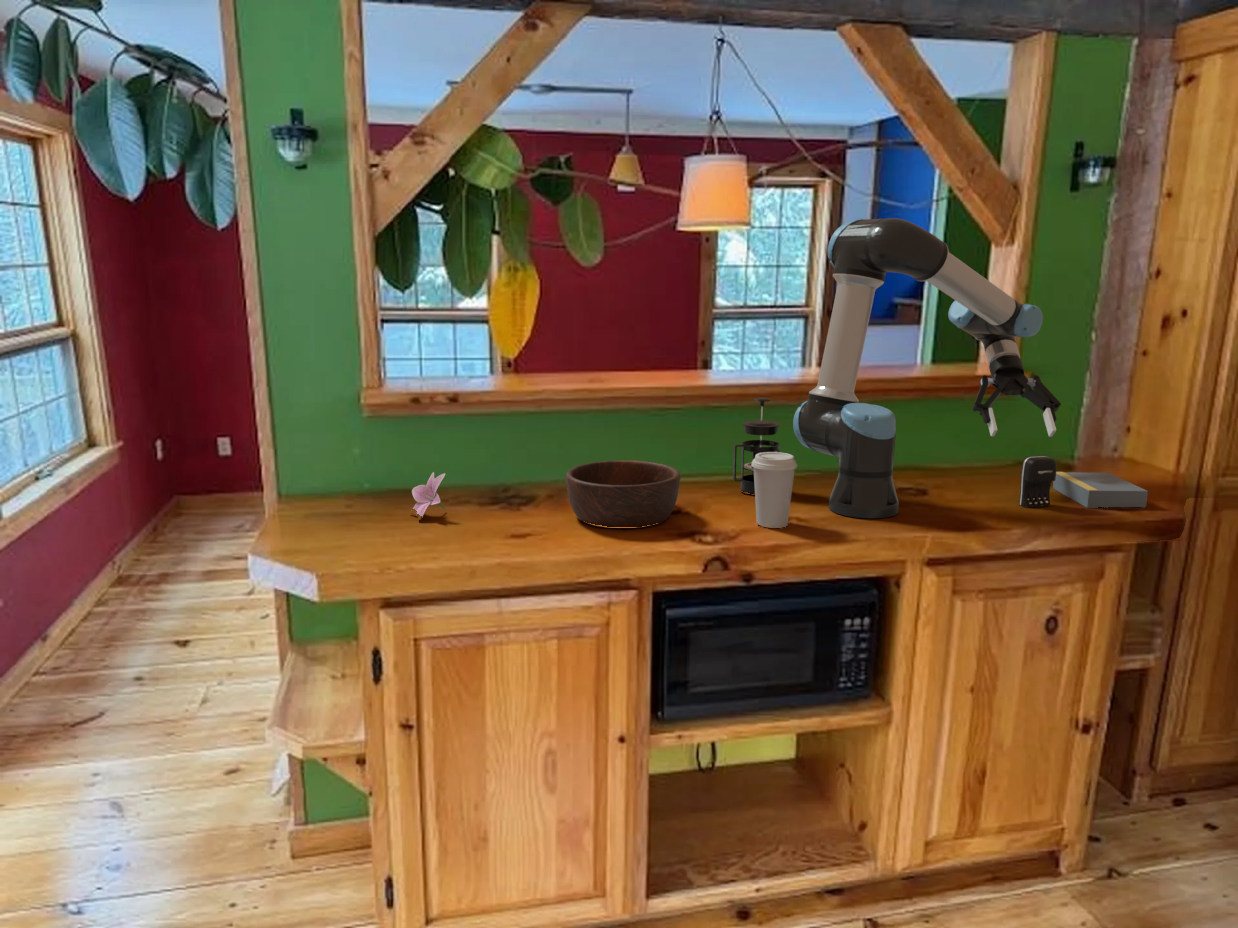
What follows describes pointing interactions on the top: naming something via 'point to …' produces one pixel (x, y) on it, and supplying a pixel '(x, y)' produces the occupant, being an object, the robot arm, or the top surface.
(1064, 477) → the dock
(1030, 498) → the battery charger
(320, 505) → the top surface
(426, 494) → the lily
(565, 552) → the top surface
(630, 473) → the wooden bowl
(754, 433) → the french press
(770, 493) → the coffee cup
